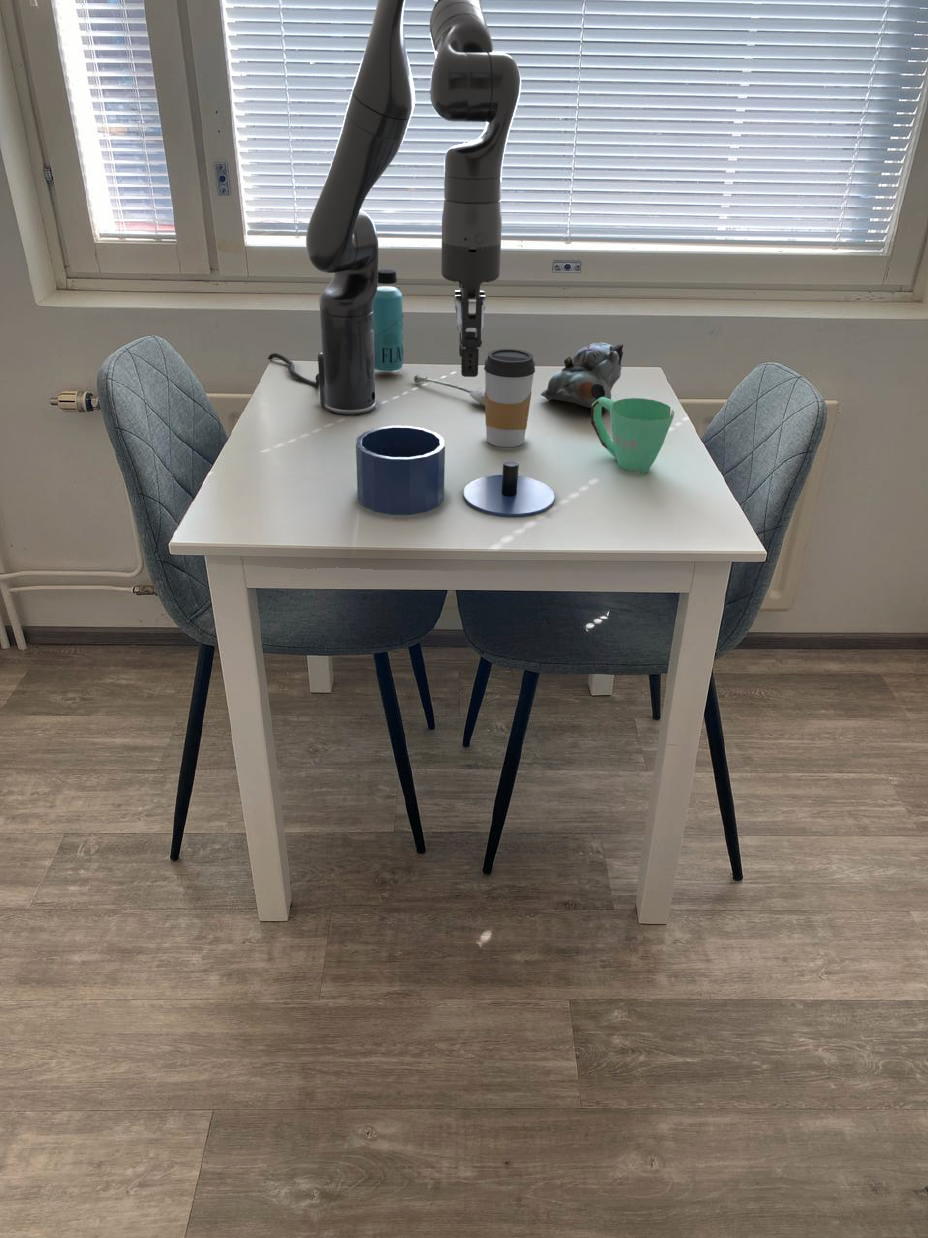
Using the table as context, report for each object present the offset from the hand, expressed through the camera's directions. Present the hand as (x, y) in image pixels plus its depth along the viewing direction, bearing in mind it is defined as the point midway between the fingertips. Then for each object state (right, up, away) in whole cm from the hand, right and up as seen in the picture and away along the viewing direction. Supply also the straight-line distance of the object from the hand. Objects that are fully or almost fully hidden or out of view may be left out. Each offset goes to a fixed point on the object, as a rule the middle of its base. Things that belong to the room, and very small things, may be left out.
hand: (468, 366), depth 122 cm
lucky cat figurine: (+21, +6, +48) cm, 52 cm away
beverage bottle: (-16, +15, +60) cm, 64 cm away
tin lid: (+6, -16, +11) cm, 21 cm away
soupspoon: (-1, +8, +50) cm, 51 cm away
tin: (-10, -17, +11) cm, 22 cm away
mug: (+25, -9, +25) cm, 37 cm away
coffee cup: (+6, -5, +30) cm, 31 cm away
